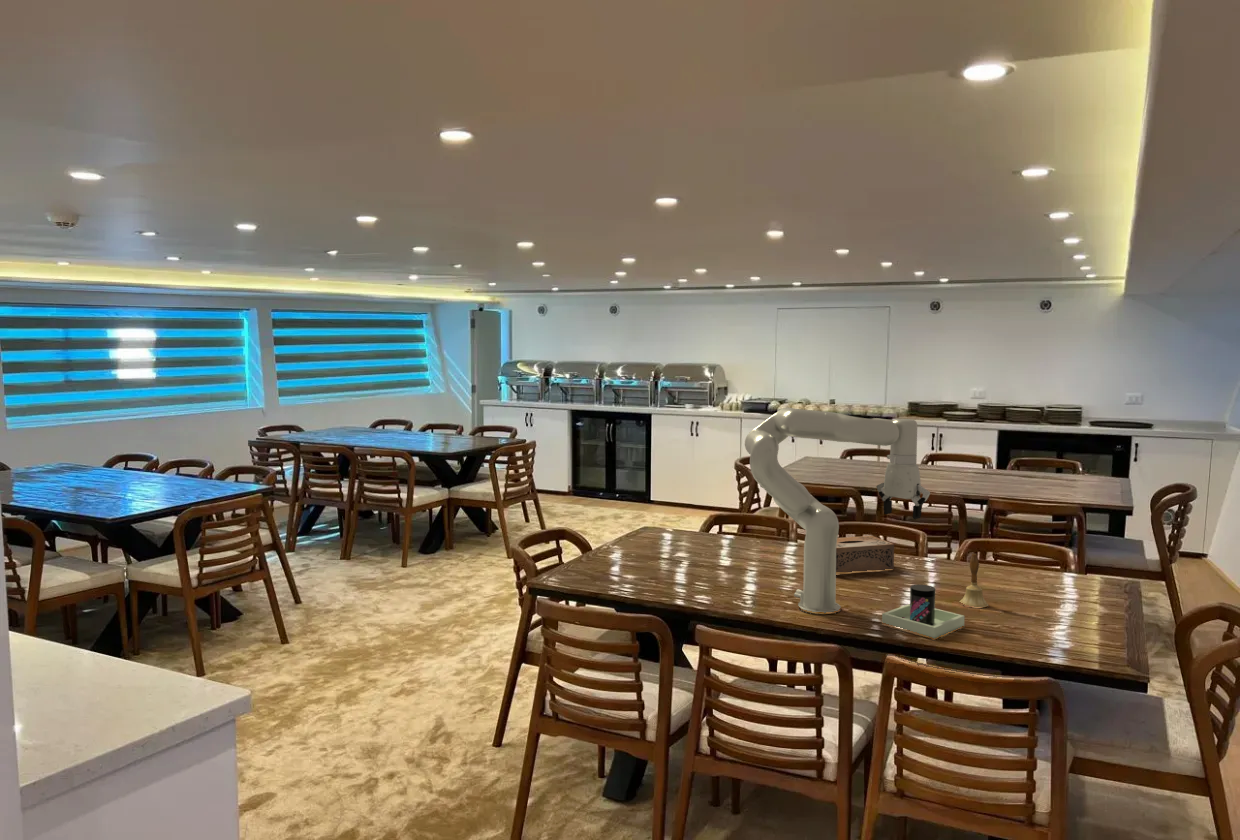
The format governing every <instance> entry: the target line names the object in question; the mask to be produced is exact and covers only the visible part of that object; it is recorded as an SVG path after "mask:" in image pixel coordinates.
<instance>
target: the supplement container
mask: <svg viewBox="0 0 1240 840" xmlns="http://www.w3.org/2000/svg"><path fill="white" fill-rule="evenodd" d="M909 604H910V620H912V621H916V622H920V623H924V624H927V625H931V626H933V625H934V623H935V608H936V588H935V587H934V586H932V585H927V584H911V585H910V586H909Z"/></svg>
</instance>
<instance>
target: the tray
mask: <svg viewBox="0 0 1240 840" xmlns="http://www.w3.org/2000/svg"><path fill="white" fill-rule="evenodd" d="M902 617H905V618H902ZM882 622H883V623H886V624H889V625H893V626H896V627H900V628H903V629H907V630H910V631H913V632H917V633H919V634H923V635H926V636H929V637H932V638H934V639H935V638H937V637H939V636H941V635H944V634H946V633H948V632H951V631H953V630H956V629H958V628H960V627H962V626H964V627H965V615H963V614H959V613H957V612H956V613H955V612H953V611H948V610H942V609H939V608H936V607H935V623H934V625H933V626H931V625H927V624H924V623H920V622H916V621H912V620H910V603H908V604H905V605H903V606H900V607H896V608H894V609H891V610H888V611H886V612H883V613H882V615H881V623H882Z"/></svg>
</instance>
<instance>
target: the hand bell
mask: <svg viewBox="0 0 1240 840" xmlns="http://www.w3.org/2000/svg"><path fill="white" fill-rule="evenodd" d="M979 562H980V561H979V558H978V555H977V553H972V554H971V556H970V559H969V569H970V574H971V575H970V576H971V578H970V579H971V580H970V585H967V586H966V588H965V593H964V596H963V598H961V600H959V602H961V603H963V604H965V605H969V606H974V607H986V606H988V607H989V604H988V602H987V601H986V600H985V598H984V595H983V588H982V587H981V586H979V585H978V571H979V566H980V563H979Z"/></svg>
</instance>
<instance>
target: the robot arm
mask: <svg viewBox="0 0 1240 840" xmlns="http://www.w3.org/2000/svg"><path fill="white" fill-rule="evenodd" d="M788 437H792V438H800V439H811V440H821V441H830V442H838V443H839V442H840V443H855V444H864V445H873V446H881V447H884V446H885V447H887V446H889V447H890V448H889V449H890V451H889V454H887V455H886V459H887V460H889V463H887V464H886V469H885V472H884V473H885V474H884V478H883V479H884V481H883V482H882V483H880V484H877V485H876V486H875V487H876V489H877V490H876V491H878V495H879V496H880V498H881V500H882V501H883V514H884V515H889V514H892V513H893V511H892V510H893V501H892V500H891V499H892V498H899V499H905V500H911V501H912V503H913V504H914V505H913V506H912V519H913V520H918V519H921V518H922V517H921V516H922V509H923V508H922V506H923V505H924V504H925V503H926V502H927V501H928V499H929V497H930V495H931V492H930V491H929V490H928V489H926V488H925V487H923V486H922V484H921V483H922V482H921V473H920V467H919V465H917V457H918V456H917V454H918V450H917V449H918V448H917V447H918V423H917V421H916V420H915V419H910V418H895V419H886V418H880V417H879V418H877V417H876V418H875V417H873V418H864V417H859V416H852V415H848V414H844V413H840V412H839V413H838V412H833V411H823V410H822V411H821V410H820V411H819V410H811V409H799V408H793V407H788V406H787V407H783V408H781V409H779V410H778V411H777V412H775V413H773V414H772V415H771V416H770V417H769V418H766V420H764V421H763V422H761V423H760V424H759V425H757V426H756V427H755V428H753V429H752V430H751V431H750V432H749V433H748V434H747V435H746V437H745V439H744V447H745V450H746V452H747V453H748V454H749V455H750V456H749V468H750V472H751V474H752V477H753V479H754V480H755V482H757V484H759V486H760V487H761V488H762V489H763V490H764V491H765V492H767V494H768V495H769V496H771V497H772V499H773V501H774V503H775V504H776V506H778V507H779V508H780V509H781V510H782V511H783V512H784V513H786V514H787V516H789V517H790V518H791V519H792V520H793V521H794V522H796V523H797V524H798V525H799V526H800V527H801V528H802V529H803V530H805V537H804V545H803V585H802V586H803V588H802V589H803V590H802V589H798V588H796V590H795V592H794V594H793V596H794V598H799V599H800V601H798V603H797V607H798V606H799V607H800V608H801V609H803V610H807V611H812V612H824V613H826V612H834V611H838V610H839V609H840V608H841V605H840V604H839V603H837V602H836V594H837V593H836V591H837V590H836V589H837V588H836V587H837V586H836V585H837V583H836V582H837V576H836V546H837V538H839V536H838V535H839V529H840V524H839V518H838V516H837V514H836V513H835V512H834V511H833V510H832V509H831V508H829V507H828V506H826V505H824V504H822V503H821V502H820V501H819V500H818V499H817V498H815V497H814V496H813V495H812V494H811V493H810V492H809V491H808V489H807V488H806V486H804V485H803V484H802V483H801V482H799V481H798V480H797V479H795V478H794V477H793V476H792V475H791V474H790V473H789V472H788V471H787V470H786V469H785V468H783V466H781V464H780V463H779V460H778V459H779V458H778V454H779V449H780V448H779V446H780V443H782V442H783V441H785V440H787V438H788ZM921 494H922V497H921Z"/></svg>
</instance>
